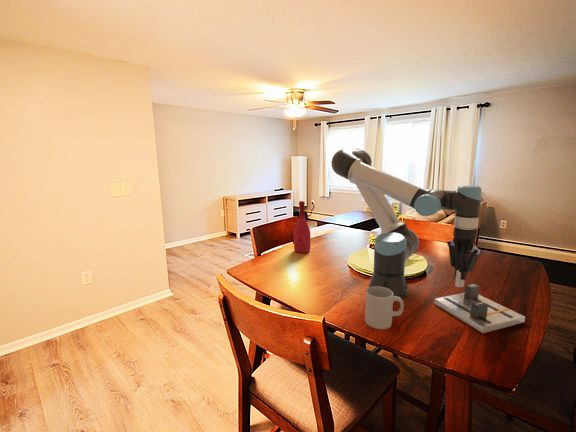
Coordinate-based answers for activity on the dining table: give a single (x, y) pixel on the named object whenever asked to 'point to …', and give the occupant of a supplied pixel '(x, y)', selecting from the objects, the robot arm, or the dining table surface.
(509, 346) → the dining table surface
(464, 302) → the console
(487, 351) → the dining table surface
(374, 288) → the mug
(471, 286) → the fader tab
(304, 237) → the wine bottle
